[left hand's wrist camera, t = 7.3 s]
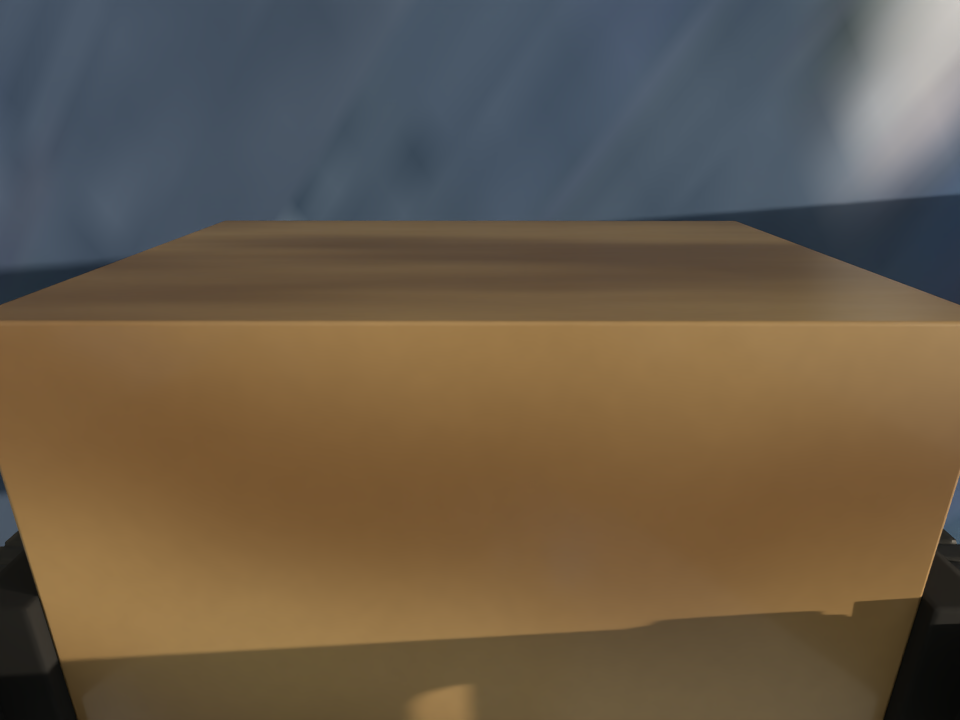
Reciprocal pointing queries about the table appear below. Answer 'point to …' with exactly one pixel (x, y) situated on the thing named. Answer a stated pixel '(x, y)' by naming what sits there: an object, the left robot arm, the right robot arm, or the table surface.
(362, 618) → the wide beam
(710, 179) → the table surface
